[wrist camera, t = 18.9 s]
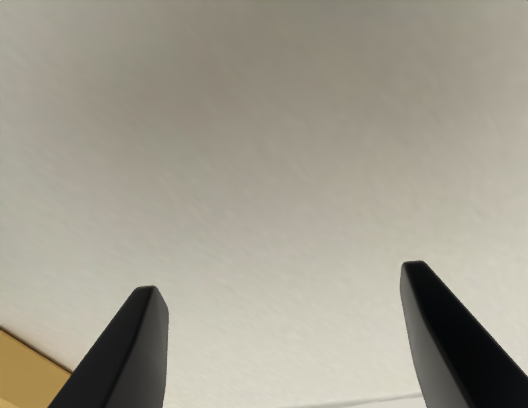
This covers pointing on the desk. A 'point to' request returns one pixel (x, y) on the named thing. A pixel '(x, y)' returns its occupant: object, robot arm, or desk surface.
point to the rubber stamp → (27, 376)
